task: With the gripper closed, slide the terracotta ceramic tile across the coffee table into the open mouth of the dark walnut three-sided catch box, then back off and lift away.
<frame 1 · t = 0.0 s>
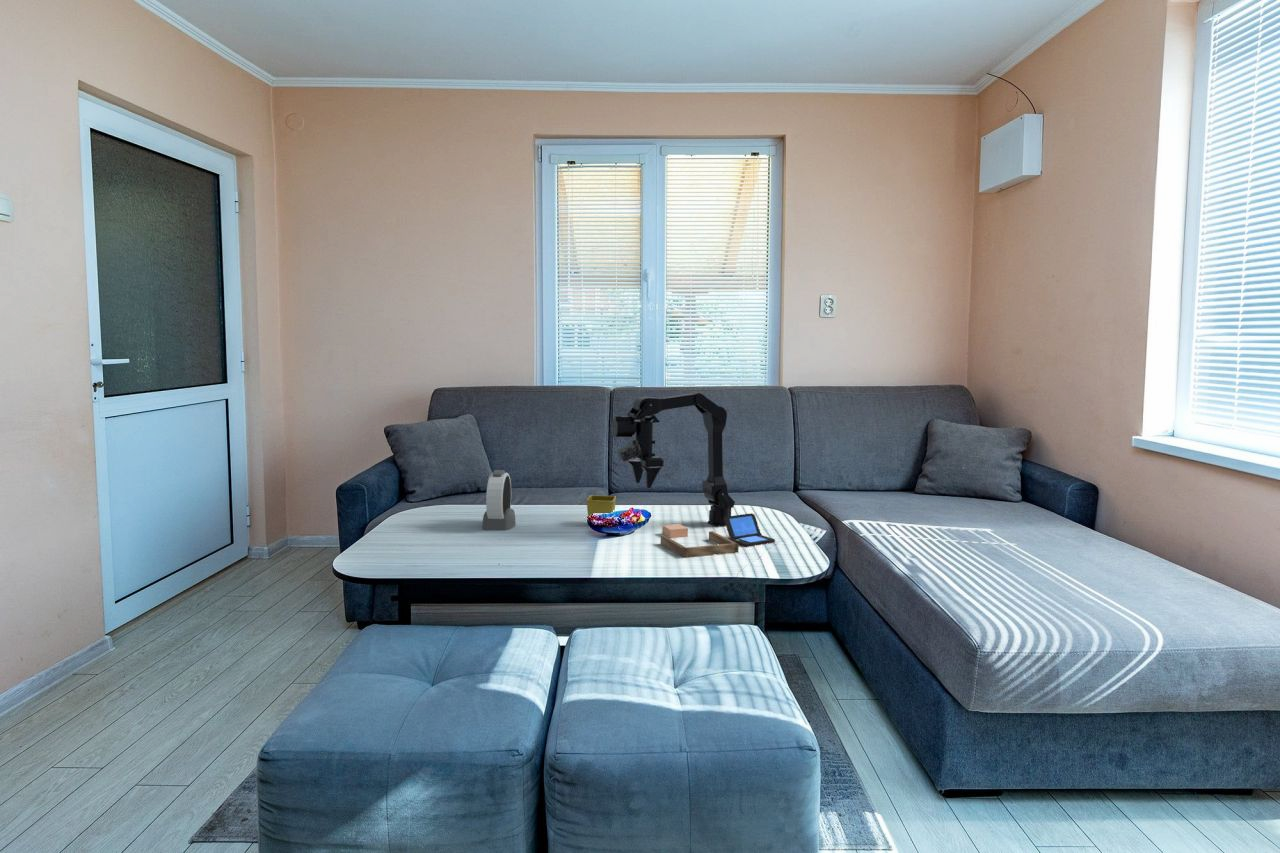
hand: (643, 485, 249), 15 cm above the table, tool pointing down, fingers open, 9 cm apart
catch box: (697, 547, 230), on the table
handheld game console: (749, 542, 240), on the table
flower pot: (601, 525, 258), on the table
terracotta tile: (674, 536, 245), on the table
grey ring on stand: (499, 526, 254), on the table
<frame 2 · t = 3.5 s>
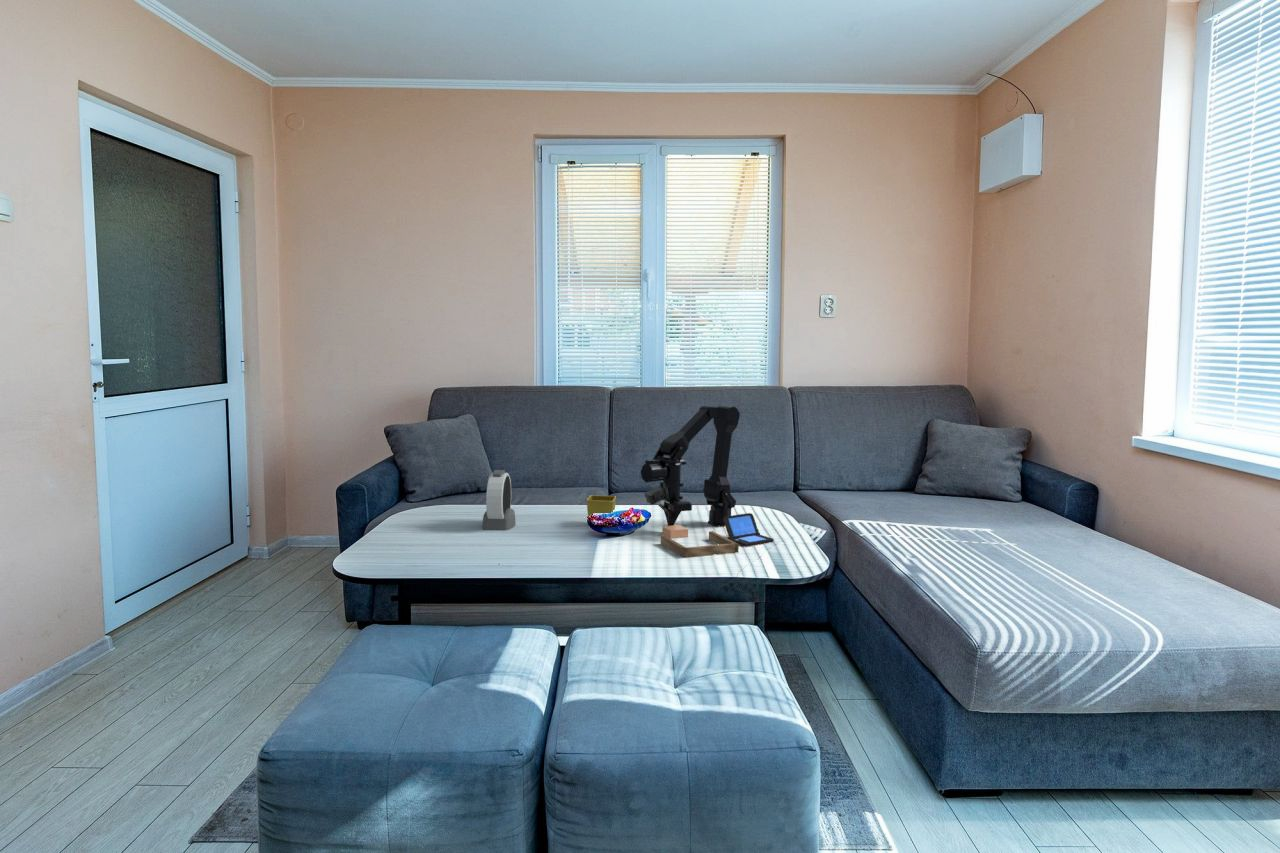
hand: (670, 527, 248), 2 cm above the table, tool pointing down, fingers closed
nothing on the table moved.
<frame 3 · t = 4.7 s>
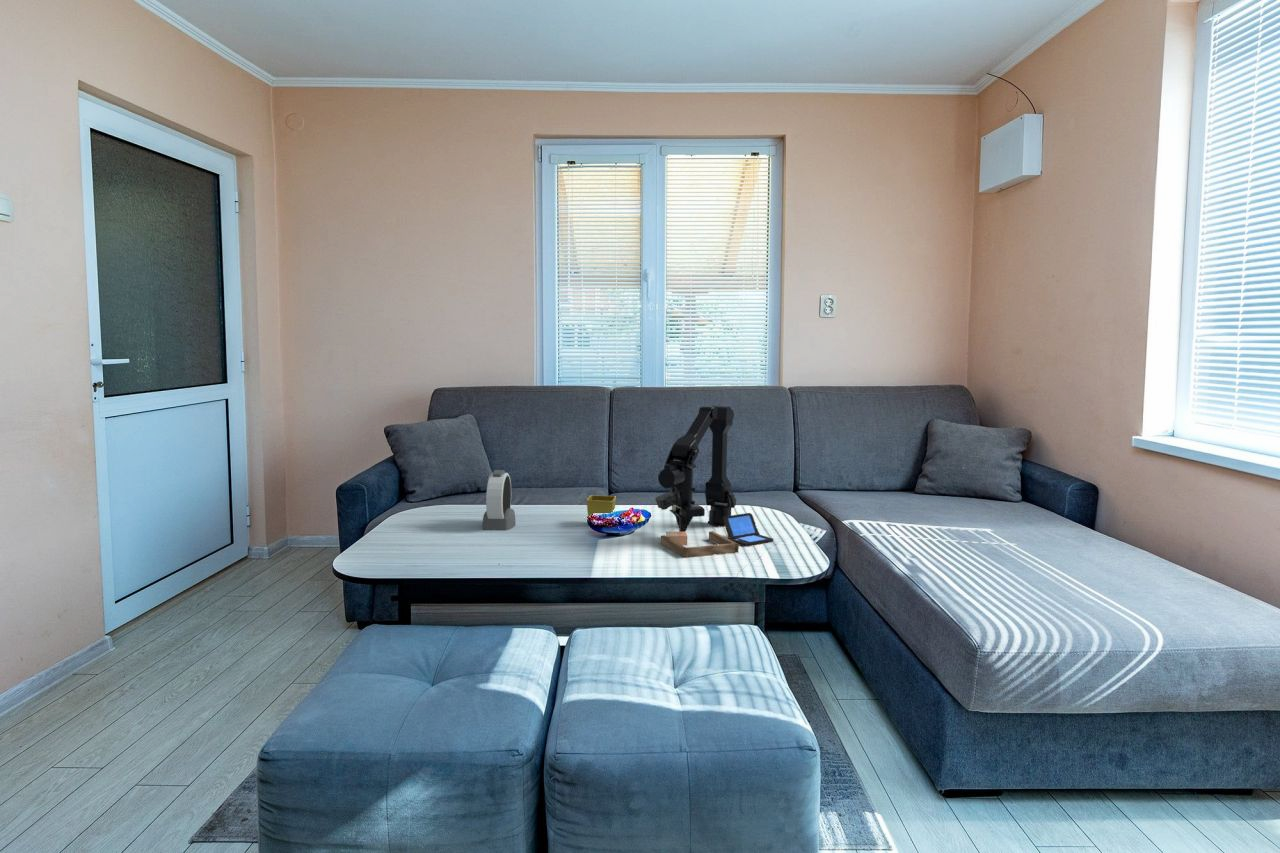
hand: (682, 533, 240), 2 cm above the table, tool pointing down, fingers closed
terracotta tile: (676, 543, 236), on the table
everything else where it was.
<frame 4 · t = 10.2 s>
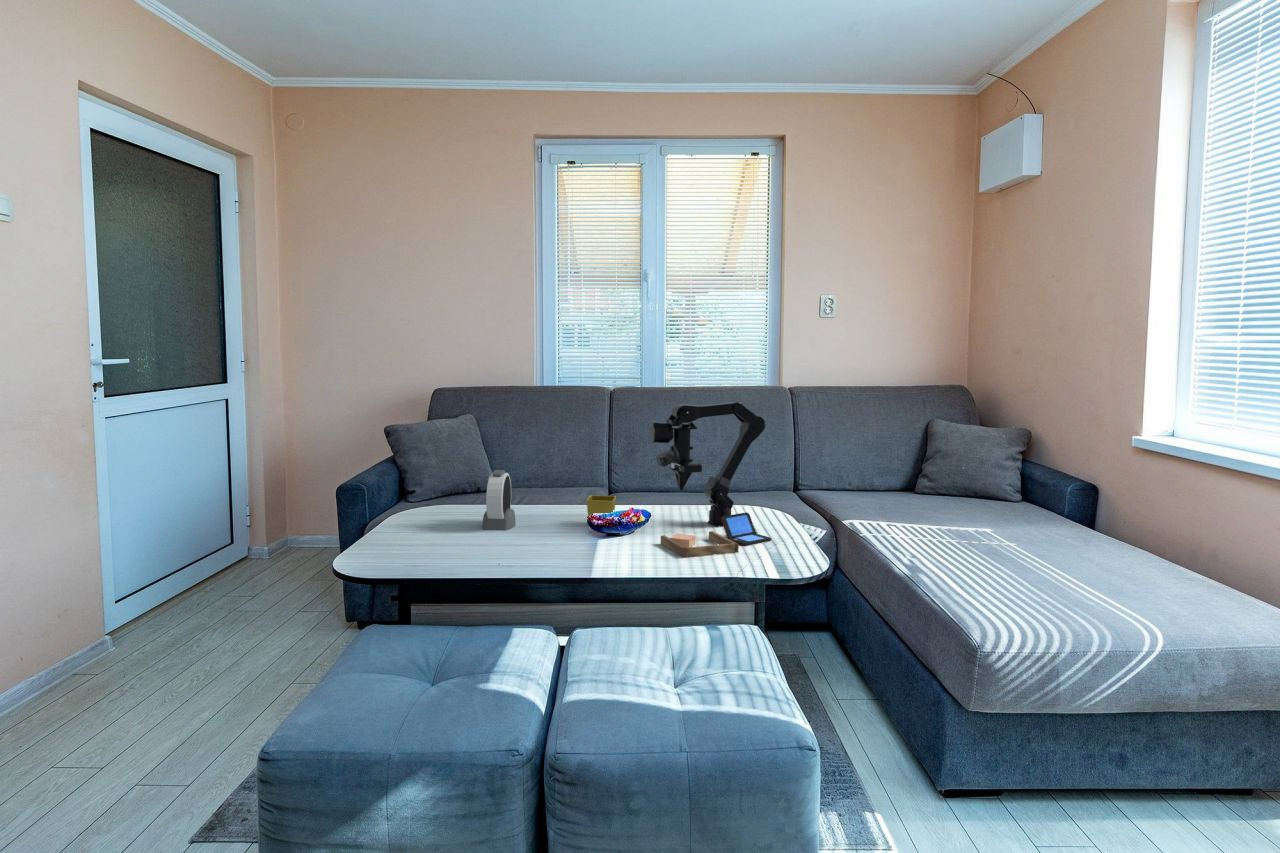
hand: (680, 490, 257), 12 cm above the table, tool pointing down, fingers closed
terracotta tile: (682, 546, 233), on the table
at the end: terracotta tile inside the target area on the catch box (5.3 cm from its centre), point 0.0 cm above the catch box's base; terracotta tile tilted 0°; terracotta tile moved 12.7 cm from its start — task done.
